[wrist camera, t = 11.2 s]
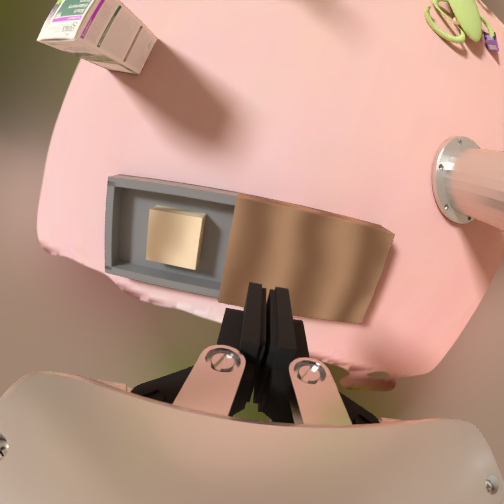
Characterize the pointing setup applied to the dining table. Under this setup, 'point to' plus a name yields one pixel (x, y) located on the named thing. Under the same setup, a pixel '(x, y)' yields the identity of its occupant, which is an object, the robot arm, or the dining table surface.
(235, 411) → the robot arm
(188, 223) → the tile
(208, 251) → the box
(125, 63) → the syrup box
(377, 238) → the board
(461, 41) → the figurine
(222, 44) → the dining table surface
